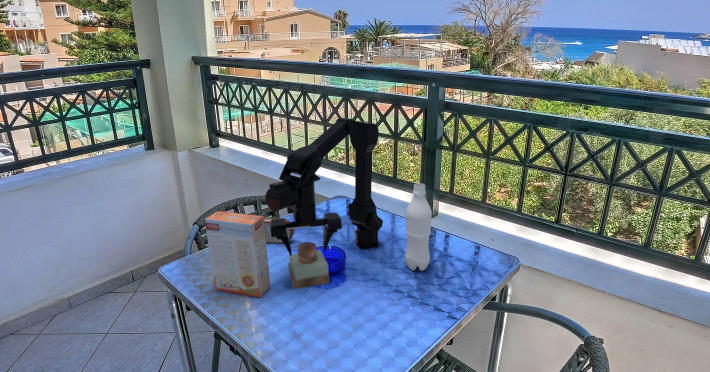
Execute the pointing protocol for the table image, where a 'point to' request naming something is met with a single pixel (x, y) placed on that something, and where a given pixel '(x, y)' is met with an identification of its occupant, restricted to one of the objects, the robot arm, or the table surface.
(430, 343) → the table surface
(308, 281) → the tower base
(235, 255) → the cracker box
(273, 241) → the tin
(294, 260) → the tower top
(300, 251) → the puck
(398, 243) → the table surface
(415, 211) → the water bottle
